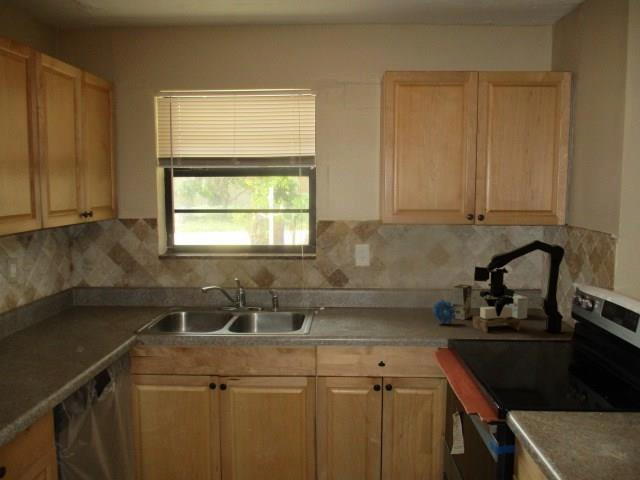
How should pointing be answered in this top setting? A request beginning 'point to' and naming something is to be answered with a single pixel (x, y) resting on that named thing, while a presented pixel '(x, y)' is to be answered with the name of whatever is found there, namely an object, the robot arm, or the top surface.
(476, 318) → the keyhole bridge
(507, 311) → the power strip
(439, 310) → the grapes
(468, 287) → the coffee box
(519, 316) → the light bulb box
